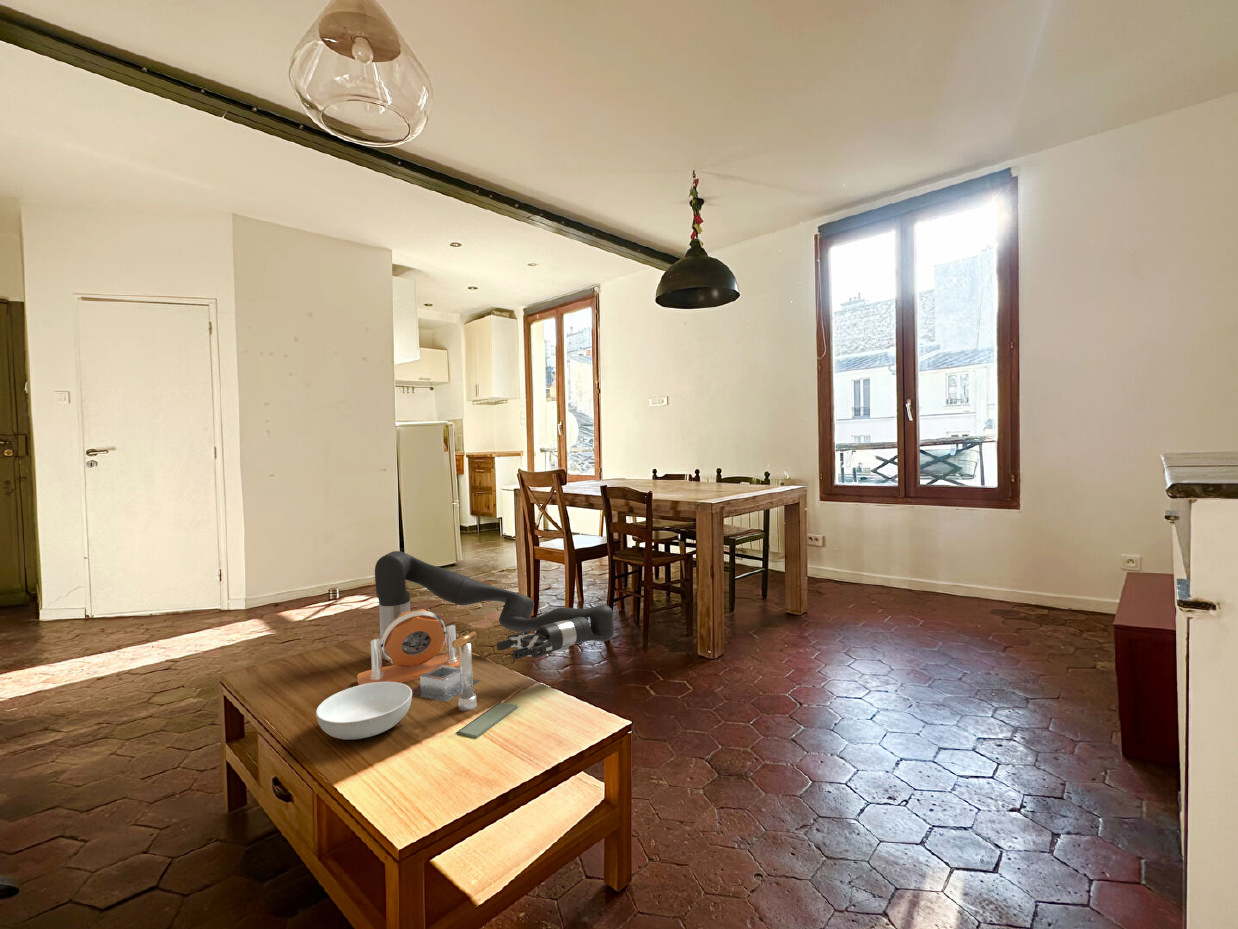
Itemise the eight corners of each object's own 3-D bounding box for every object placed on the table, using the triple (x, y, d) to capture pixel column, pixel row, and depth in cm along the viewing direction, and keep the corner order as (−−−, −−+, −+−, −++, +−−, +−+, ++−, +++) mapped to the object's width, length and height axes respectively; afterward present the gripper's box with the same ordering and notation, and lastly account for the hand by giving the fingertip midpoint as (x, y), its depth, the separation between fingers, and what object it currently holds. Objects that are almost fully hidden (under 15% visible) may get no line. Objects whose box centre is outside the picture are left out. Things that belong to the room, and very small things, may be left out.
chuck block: (441, 676, 164) (441, 659, 163) (480, 684, 158) (480, 666, 157) (405, 697, 151) (404, 678, 151) (445, 705, 145) (445, 686, 145)
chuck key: (469, 700, 146) (466, 630, 145) (483, 703, 144) (480, 632, 144) (451, 712, 140) (448, 639, 139) (465, 716, 138) (462, 641, 137)
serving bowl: (323, 717, 141) (322, 690, 140) (412, 701, 148) (411, 676, 148) (310, 760, 121) (308, 729, 121) (413, 740, 129) (412, 710, 128)
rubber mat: (467, 697, 150) (467, 695, 150) (517, 707, 143) (517, 705, 143) (423, 725, 135) (423, 723, 135) (476, 738, 128) (476, 735, 128)
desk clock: (471, 671, 168) (469, 604, 167) (361, 697, 152) (358, 623, 151) (460, 658, 178) (458, 595, 177) (356, 681, 162) (353, 612, 162)
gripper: (571, 656, 154) (519, 672, 143) (543, 642, 165) (492, 657, 154) (570, 629, 154) (518, 643, 143) (542, 617, 164) (492, 630, 154)
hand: (505, 650), depth 149 cm, fingers open, 8 cm apart
